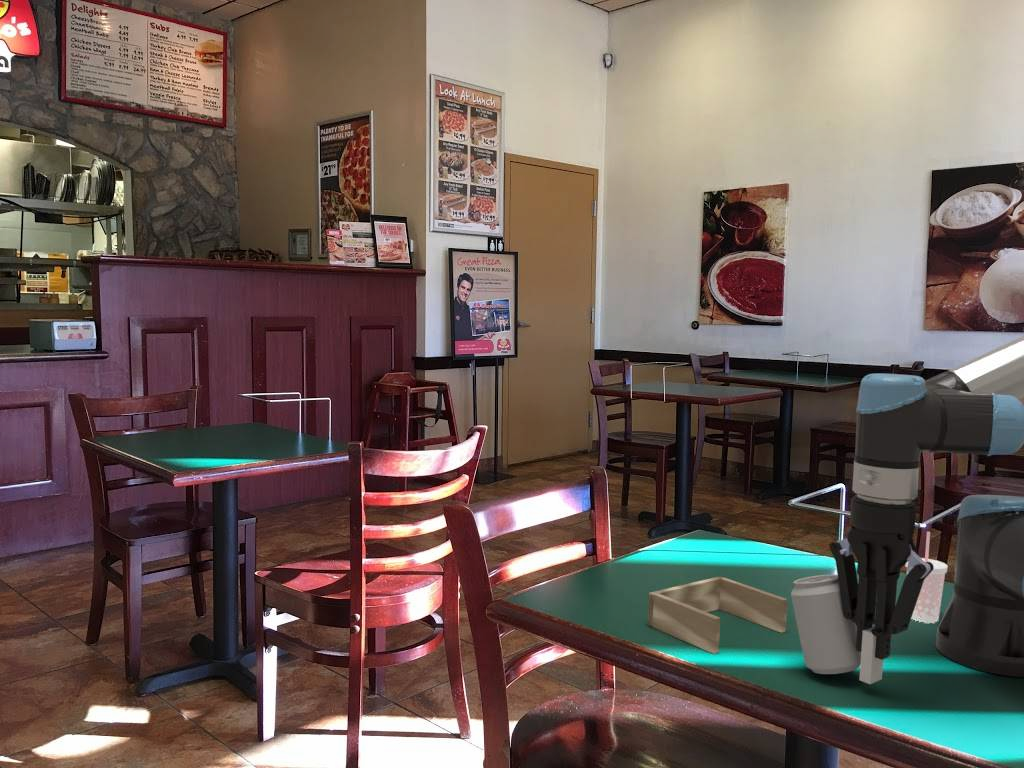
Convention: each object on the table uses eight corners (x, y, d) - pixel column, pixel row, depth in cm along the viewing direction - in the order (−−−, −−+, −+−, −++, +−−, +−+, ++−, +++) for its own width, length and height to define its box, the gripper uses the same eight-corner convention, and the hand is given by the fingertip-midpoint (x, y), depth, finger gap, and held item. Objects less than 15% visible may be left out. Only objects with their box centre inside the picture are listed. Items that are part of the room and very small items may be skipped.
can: (818, 662, 121) (800, 574, 123) (873, 661, 116) (853, 570, 118) (797, 676, 115) (779, 584, 117) (854, 675, 110) (834, 579, 112)
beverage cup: (948, 627, 136) (955, 538, 134) (906, 623, 137) (912, 535, 136) (937, 613, 142) (943, 528, 140) (897, 610, 143) (903, 525, 142)
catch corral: (718, 606, 142) (720, 576, 142) (785, 631, 132) (787, 599, 131) (647, 624, 133) (649, 592, 132) (713, 653, 122) (715, 619, 122)
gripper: (820, 490, 112) (808, 668, 114) (918, 511, 102) (903, 706, 104) (853, 485, 117) (841, 656, 119) (950, 504, 106) (935, 691, 109)
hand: (870, 679), depth 111 cm, fingers closed
